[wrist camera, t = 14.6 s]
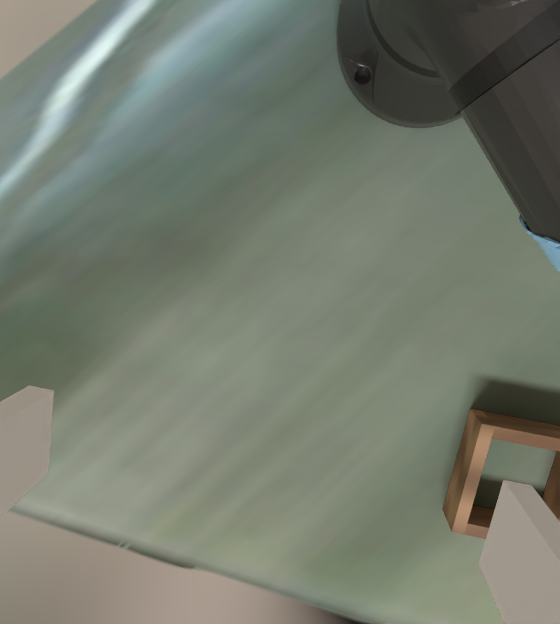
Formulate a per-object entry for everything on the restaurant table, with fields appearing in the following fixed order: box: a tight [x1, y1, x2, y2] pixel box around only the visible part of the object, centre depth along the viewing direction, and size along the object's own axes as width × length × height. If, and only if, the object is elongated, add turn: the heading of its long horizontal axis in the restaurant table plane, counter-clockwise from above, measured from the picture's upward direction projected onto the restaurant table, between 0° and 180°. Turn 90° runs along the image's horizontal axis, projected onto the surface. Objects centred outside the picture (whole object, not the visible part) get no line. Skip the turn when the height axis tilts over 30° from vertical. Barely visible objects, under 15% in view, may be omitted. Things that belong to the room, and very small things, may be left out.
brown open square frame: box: [443, 409, 560, 539], centre depth 45 cm, size 11×10×4 cm
